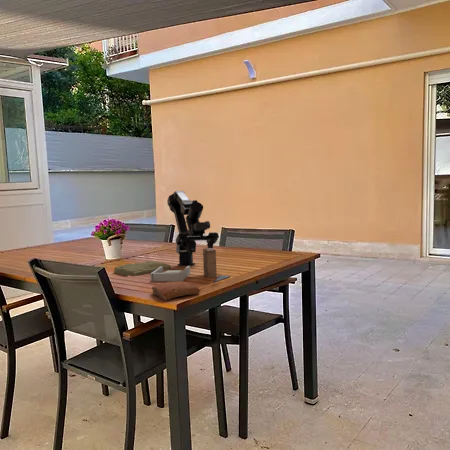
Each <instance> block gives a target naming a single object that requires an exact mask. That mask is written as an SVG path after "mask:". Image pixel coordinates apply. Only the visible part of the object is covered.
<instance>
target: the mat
mask: <svg viewBox="0 0 450 450" xmlns="http://www.w3.org/2000/svg"><path fill="white" fill-rule="evenodd" d="M228 278H231V275H222V274H219V275H217V277H216V278H215V279H213V281H212V282H211V284H212V283H216V282H220V281H222V280H225V279H228Z"/></svg>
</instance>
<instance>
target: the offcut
mask: <svg viewBox="0 0 450 450" xmlns="http://www.w3.org/2000/svg"><path fill="white" fill-rule="evenodd" d="M182 271H183V269H181V270H179V269H178V270H177V269H175V270H174V269H173V270H171V269H166V271H163V273H181V272H182Z"/></svg>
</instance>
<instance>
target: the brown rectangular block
mask: <svg viewBox="0 0 450 450" xmlns="http://www.w3.org/2000/svg"><path fill="white" fill-rule="evenodd" d="M202 255H203V256H202V258H203V259H202V260H203V262H202V264H203V276H204V277H205V278H208V279H214V278H215V279H216V278H217V277H218V275H217V251H216V249H214V248H213V249H212V248H208V247H207V248H202Z"/></svg>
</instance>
